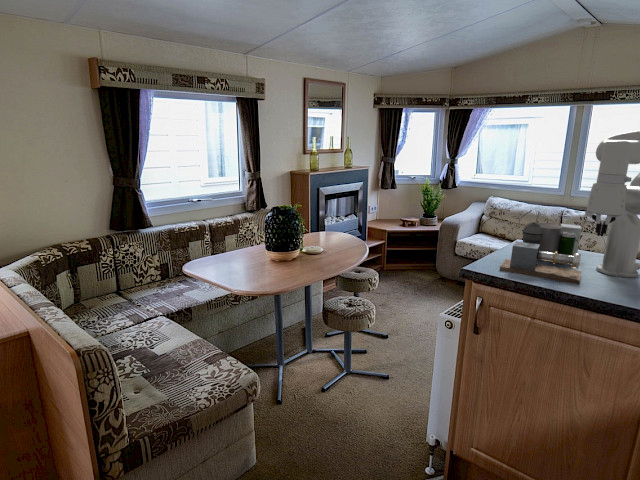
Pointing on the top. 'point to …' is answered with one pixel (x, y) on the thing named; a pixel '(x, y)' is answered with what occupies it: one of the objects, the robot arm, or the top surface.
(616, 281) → the top surface
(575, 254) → the shaft
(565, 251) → the beer can
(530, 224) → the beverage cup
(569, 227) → the supplement box
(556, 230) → the pillar candle
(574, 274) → the machine model
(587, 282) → the top surface
